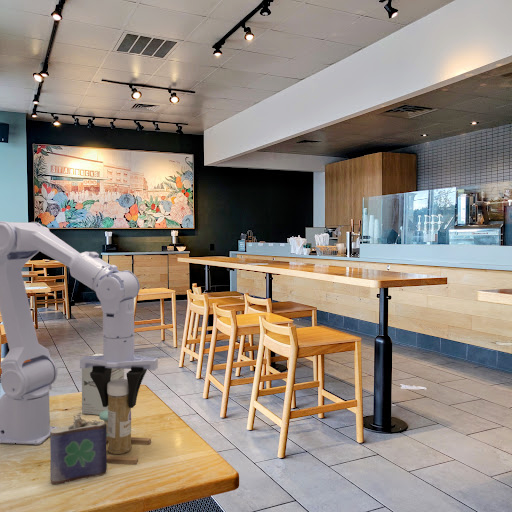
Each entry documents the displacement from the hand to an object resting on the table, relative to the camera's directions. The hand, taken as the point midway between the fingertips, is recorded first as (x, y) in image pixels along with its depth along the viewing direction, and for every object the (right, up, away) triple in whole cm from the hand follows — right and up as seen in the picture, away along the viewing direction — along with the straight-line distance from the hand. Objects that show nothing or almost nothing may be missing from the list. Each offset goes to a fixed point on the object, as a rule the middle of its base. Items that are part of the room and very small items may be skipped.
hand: (119, 405), depth 95 cm
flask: (-4, -10, -9) cm, 14 cm away
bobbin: (-4, -9, +8) cm, 13 cm away
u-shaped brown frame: (0, -9, +1) cm, 9 cm away
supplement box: (-10, -8, +22) cm, 26 cm away
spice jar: (0, -9, +1) cm, 9 cm away
